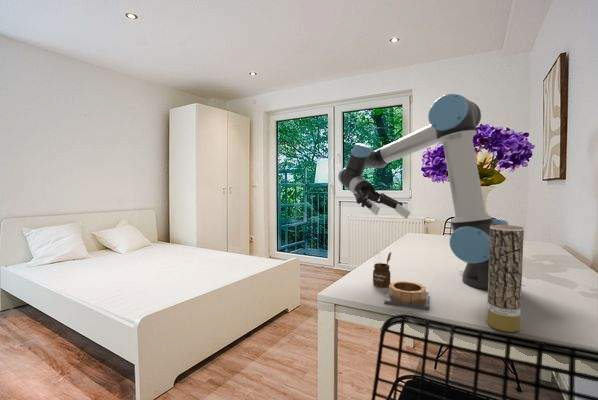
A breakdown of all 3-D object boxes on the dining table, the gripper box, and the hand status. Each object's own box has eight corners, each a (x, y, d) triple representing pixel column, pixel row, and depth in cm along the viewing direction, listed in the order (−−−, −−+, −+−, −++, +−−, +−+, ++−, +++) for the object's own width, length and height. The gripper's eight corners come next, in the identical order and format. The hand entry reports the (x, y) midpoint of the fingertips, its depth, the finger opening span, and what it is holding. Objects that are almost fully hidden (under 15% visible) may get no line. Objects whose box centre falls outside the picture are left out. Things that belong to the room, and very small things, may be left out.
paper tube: (525, 335, 72) (529, 229, 71) (493, 332, 73) (496, 228, 72) (511, 322, 79) (515, 225, 77) (482, 319, 80) (485, 224, 79)
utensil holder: (378, 280, 112) (379, 248, 111) (394, 285, 108) (394, 251, 107) (369, 284, 108) (369, 250, 107) (385, 289, 103) (385, 253, 103)
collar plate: (428, 295, 97) (428, 283, 97) (428, 310, 86) (428, 296, 86) (389, 290, 102) (389, 278, 102) (384, 303, 91) (384, 290, 91)
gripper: (382, 200, 131) (415, 225, 113) (332, 193, 121) (360, 219, 103) (389, 184, 129) (423, 207, 111) (339, 175, 118) (368, 199, 100)
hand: (393, 213), depth 107 cm, fingers open, 13 cm apart
